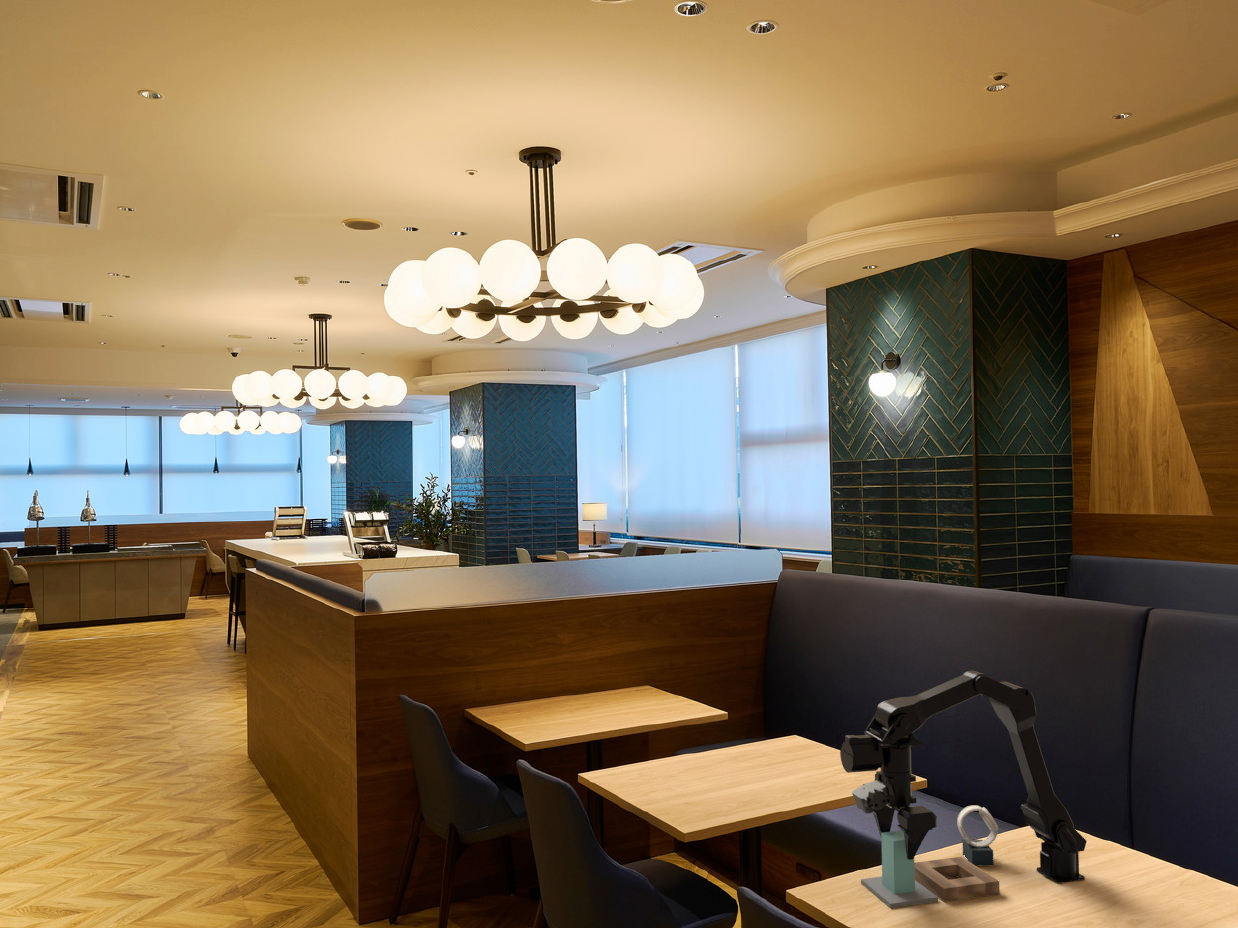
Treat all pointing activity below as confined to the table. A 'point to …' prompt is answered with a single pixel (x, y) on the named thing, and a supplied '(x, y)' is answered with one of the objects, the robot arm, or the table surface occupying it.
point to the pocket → (967, 886)
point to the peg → (896, 864)
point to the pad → (900, 899)
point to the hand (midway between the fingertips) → (897, 849)
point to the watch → (978, 849)
